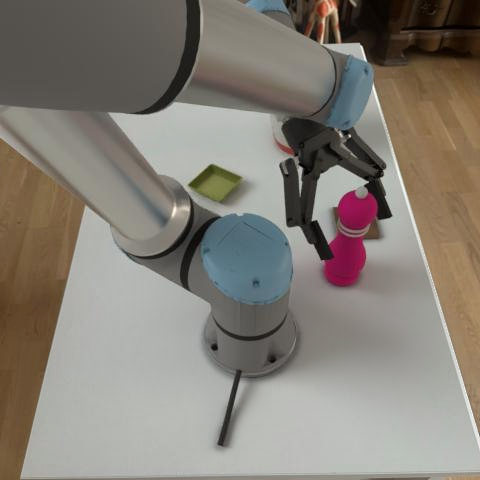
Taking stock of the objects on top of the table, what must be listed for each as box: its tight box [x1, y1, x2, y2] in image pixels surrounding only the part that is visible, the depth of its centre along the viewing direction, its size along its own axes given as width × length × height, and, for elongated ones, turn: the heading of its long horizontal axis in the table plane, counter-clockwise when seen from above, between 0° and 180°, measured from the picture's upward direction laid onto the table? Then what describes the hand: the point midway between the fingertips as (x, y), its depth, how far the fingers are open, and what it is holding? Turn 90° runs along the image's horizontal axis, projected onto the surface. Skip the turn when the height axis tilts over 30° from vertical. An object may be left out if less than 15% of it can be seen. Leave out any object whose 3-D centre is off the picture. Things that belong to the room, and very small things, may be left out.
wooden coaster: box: [331, 206, 380, 240], centre depth 87 cm, size 8×8×1 cm
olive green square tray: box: [187, 163, 243, 203], centre depth 94 cm, size 9×9×2 cm
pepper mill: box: [323, 185, 378, 288], centre depth 73 cm, size 7×7×20 cm
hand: (357, 238), depth 72 cm, fingers open, 13 cm apart
